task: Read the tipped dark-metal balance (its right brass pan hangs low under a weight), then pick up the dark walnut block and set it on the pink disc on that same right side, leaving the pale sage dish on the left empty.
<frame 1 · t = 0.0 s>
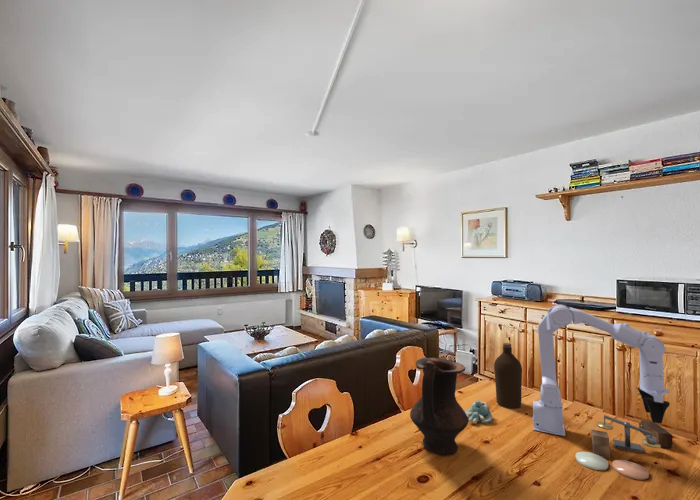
hand: (653, 417, 107), 10 cm above the table, tool pointing down, fingers open, 7 cm apart
balance: (627, 447, 109), on the table
stuffed animal: (478, 420, 129), on the table
brick: (655, 440, 113), on the table
sage dish: (591, 462, 101), on the table
jug: (438, 448, 110), on the table
olive oil: (509, 404, 142), on the table
pink disc: (630, 470, 97), on the table
walnut block: (600, 453, 106), on the table
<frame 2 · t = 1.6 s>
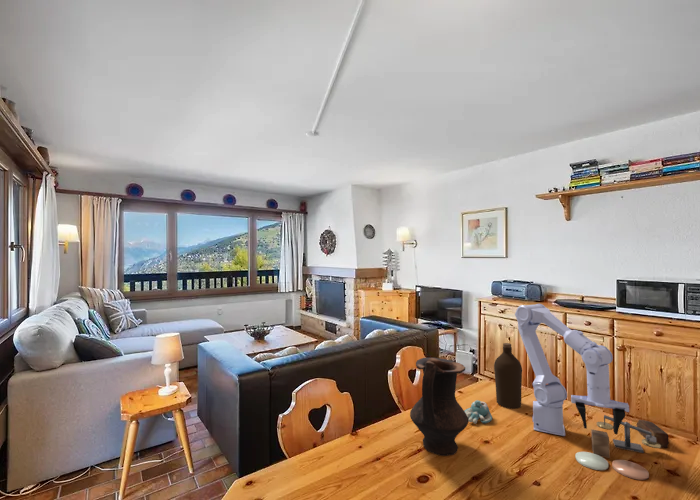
hand: (600, 430, 106), 7 cm above the table, tool pointing down, fingers open, 7 cm apart
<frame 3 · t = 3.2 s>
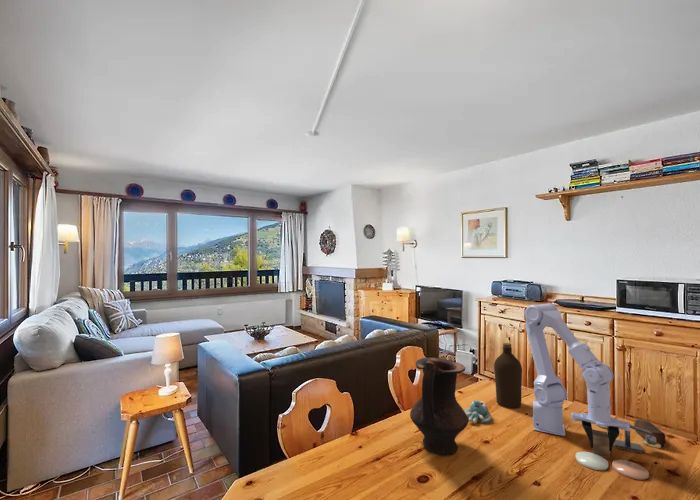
hand: (600, 448, 106), 1 cm above the table, tool pointing down, fingers closed on walnut block, 4 cm apart
walnut block: (600, 453, 106), on the table, touching gripper
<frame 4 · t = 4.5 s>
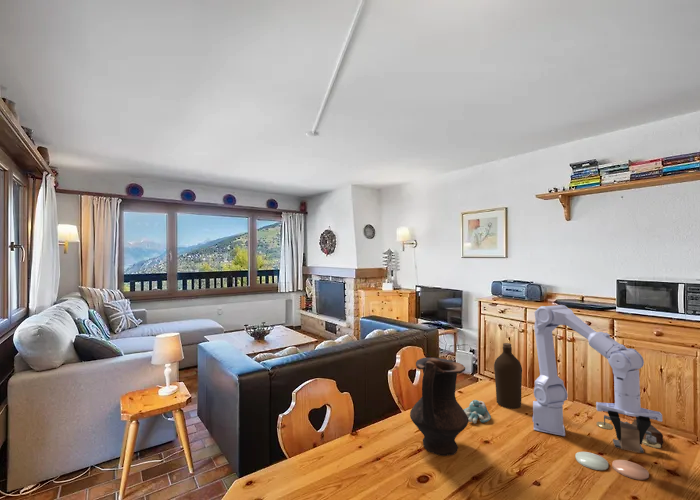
hand: (629, 440, 97), 8 cm above the table, tool pointing down, fingers closed on walnut block, 4 cm apart
walnut block: (629, 447, 97), point 7 cm above the table, touching gripper
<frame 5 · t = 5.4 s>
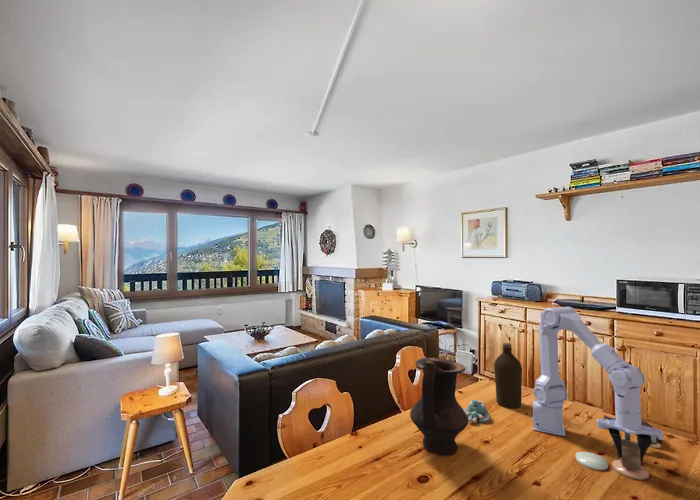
hand: (629, 458, 97), 4 cm above the table, tool pointing down, fingers closed on walnut block, 4 cm apart
walnut block: (630, 464, 97), point 2 cm above the table, touching gripper
when the fingers open (3 cm above the table, at t = 6.2 s): walnut block stays where it is, resting on pink disc.
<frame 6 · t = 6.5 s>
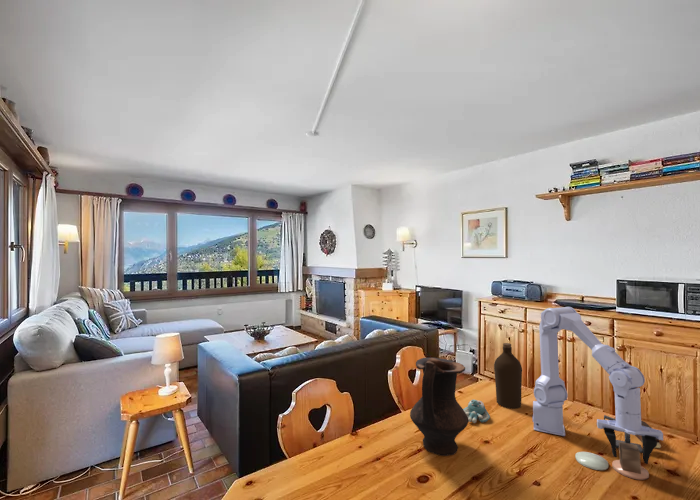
hand: (629, 458, 97), 3 cm above the table, tool pointing down, fingers open, 6 cm apart
walnut block: (630, 468, 97), point 1 cm above the table, touching pink disc
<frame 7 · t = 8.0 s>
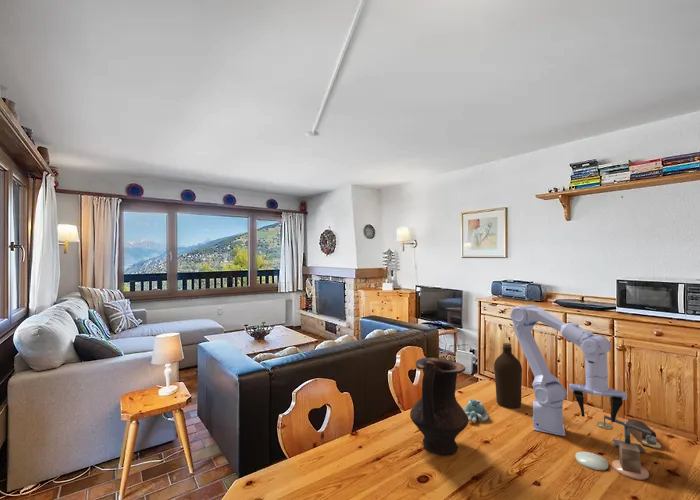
hand: (597, 417, 107), 10 cm above the table, tool pointing down, fingers open, 7 cm apart
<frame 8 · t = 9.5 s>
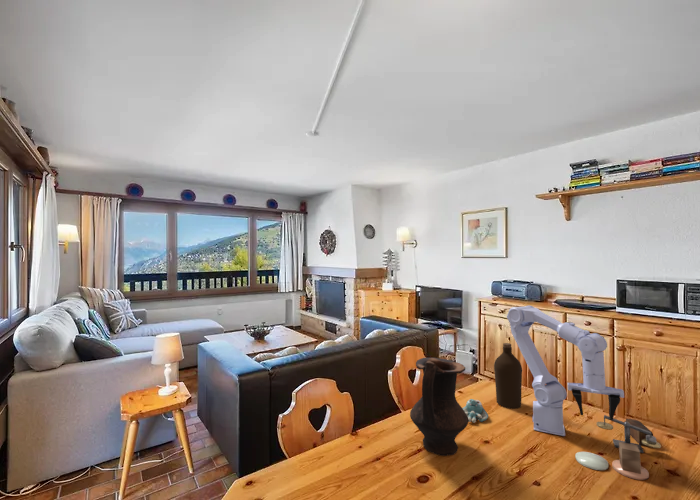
hand: (596, 416, 108), 10 cm above the table, tool pointing down, fingers open, 7 cm apart
at the end: walnut block 0.1 cm off-centre on the pink disc, point 0.8 cm above the pink disc's base; walnut block tilted 0°; the gripper is holding nothing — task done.
